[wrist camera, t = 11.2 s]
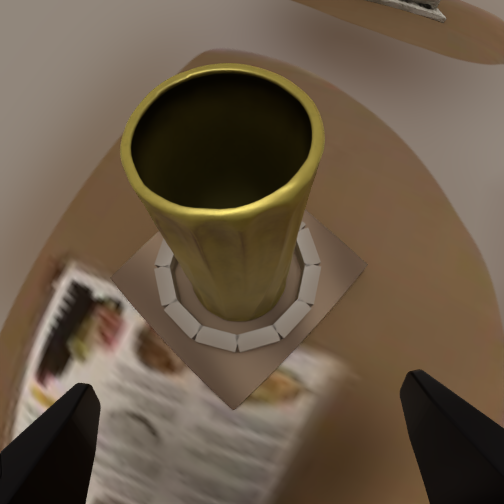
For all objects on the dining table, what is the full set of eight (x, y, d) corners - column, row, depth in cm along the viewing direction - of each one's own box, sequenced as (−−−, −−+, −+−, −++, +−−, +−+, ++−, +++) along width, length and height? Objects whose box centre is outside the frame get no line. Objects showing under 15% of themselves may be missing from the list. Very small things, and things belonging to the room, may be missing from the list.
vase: (186, 317, 20) (74, 232, 7) (198, 227, 22) (139, 57, 9) (283, 325, 20) (351, 250, 6) (287, 233, 22) (333, 61, 8)
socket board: (234, 407, 19) (232, 414, 17) (115, 281, 22) (101, 271, 19) (363, 268, 22) (375, 258, 20) (242, 165, 25) (242, 146, 23)
